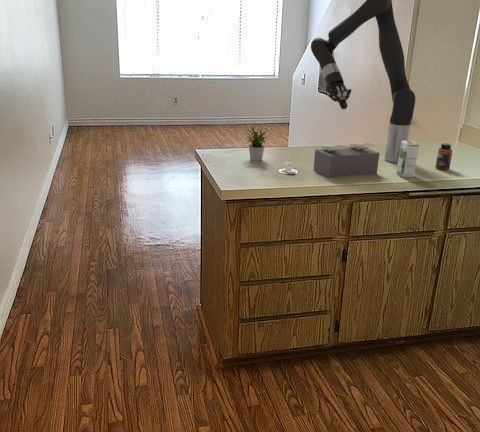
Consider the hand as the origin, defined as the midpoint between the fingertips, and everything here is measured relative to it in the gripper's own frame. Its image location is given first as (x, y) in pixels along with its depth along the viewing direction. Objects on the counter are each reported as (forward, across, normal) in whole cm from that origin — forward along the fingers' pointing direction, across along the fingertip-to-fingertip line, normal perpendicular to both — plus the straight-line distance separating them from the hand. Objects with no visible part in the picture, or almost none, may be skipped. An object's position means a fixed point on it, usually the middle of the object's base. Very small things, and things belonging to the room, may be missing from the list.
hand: (344, 108), depth 231 cm
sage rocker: (+20, -14, -1) cm, 25 cm away
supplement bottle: (+34, +39, 0) cm, 52 cm away
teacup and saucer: (+24, -33, +12) cm, 43 cm away
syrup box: (+36, +15, -2) cm, 40 cm away
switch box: (+28, -7, +6) cm, 29 cm away
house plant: (+7, -36, +28) cm, 46 cm away
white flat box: (+20, 0, -1) cm, 20 cm away
